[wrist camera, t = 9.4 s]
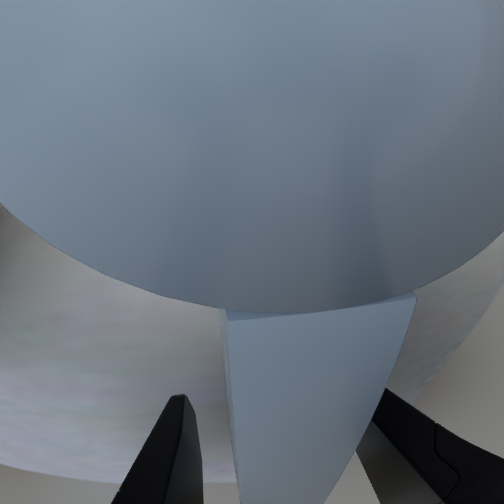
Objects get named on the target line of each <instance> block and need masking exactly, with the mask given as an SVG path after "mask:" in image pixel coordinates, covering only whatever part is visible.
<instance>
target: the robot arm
mask: <svg viewBox="0 0 504 504" xmlns="http://www.w3.org/2000/svg"><path fill="white" fill-rule="evenodd" d="M356 453H357V455H358V457H359V459H360V461H361V463H362V465H363V467H364V470H365V471H366V474H367V476H368V478H369V480H370V482H371V484H372V487H373V489H374V491H375V493H376V495H377V497H378V499H379V501H380V504H504V459H503V458H501V457H499V456H497V455H495V454H492V453H490V452H488V451H486V450H484V449H482V448H480V447H477V446H475V445H473V444H471V443H469V442H467V441H466V440H464V439H462V438H460V437H458V436H457V435H455V434H453V433H452V432H450V431H449V430H447V429H445V428H444V427H442V426H441V425H440V424H438V423H436V424H435V421H433V420H432V419H430V418H429V417H427V416H426V415H425V414H423V413H422V412H420V411H419V410H417V409H416V408H414V407H413V406H411V405H410V404H409V403H407V402H406V401H404V400H403V399H401V398H400V397H398V396H397V395H396V394H394V393H393V392H391V391H390V390H388V389H387V388H386V387H385V390H384V392H383V394H382V397H381V399H380V401H379V403H378V406H377V408H376V410H375V412H374V414H373V416H372V418H371V420H370V422H369V425H368V427H367V429H366V431H365V433H364V435H363V436H362V438H361V440H360V442H359V444H358V446H357V448H356ZM111 504H204V503H203V471H202V457H201V450H200V443H199V437H198V429H197V422H196V415H195V412H194V409H193V407H192V405H191V403H190V401H189V399H188V397H187V396H186V395H185V394H180V395H173V396H171V397H170V399H169V401H168V403H167V404H166V406H165V408H164V410H163V411H162V413H161V415H160V417H159V419H158V420H157V422H156V424H155V426H154V428H153V429H152V431H151V433H150V435H149V437H148V438H147V440H146V442H145V444H144V445H143V447H142V449H141V451H140V453H139V454H138V456H137V458H136V460H135V462H134V463H133V465H132V467H131V469H130V471H129V472H128V474H127V476H126V478H125V479H124V481H123V483H122V485H121V487H120V488H119V491H118V492H117V494H116V496H115V497H114V499H113V501H112V503H111Z"/></svg>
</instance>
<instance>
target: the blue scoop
mask: <svg viewBox="0 0 504 504" xmlns="http://www.w3.org/2000/svg"><path fill="white" fill-rule="evenodd" d="M0 203H1V204H2V205H3V206H4V207H5V208H6V209H7V210H8V211H9V212H10V213H11V214H12V215H13V216H15V217H16V218H17V219H18V220H20V221H21V222H22V223H23V224H24V225H26V226H27V227H28V228H30V229H31V230H32V231H33V232H35V233H36V234H37V235H38V236H40V237H41V238H42V239H44V240H45V241H46V242H48V243H49V244H50V245H52V246H53V247H55V248H57V249H58V250H60V251H62V252H64V253H66V254H67V255H69V256H71V257H73V258H74V259H76V260H78V261H80V262H82V263H83V264H85V265H87V266H89V267H91V268H93V269H95V270H96V271H98V272H100V273H102V274H104V275H107V276H109V277H112V278H114V279H117V280H120V281H122V282H125V283H128V284H130V285H133V286H136V287H138V288H141V289H144V290H147V291H149V292H152V293H155V294H158V295H161V296H164V297H169V298H173V299H178V300H182V301H187V302H191V303H196V304H200V305H205V306H210V307H215V308H220V321H221V334H222V347H223V359H224V371H225V382H226V393H227V404H228V414H229V424H230V434H231V443H232V451H233V458H234V465H235V472H236V479H237V485H238V492H239V498H240V504H323V503H324V502H325V500H326V499H327V497H328V496H329V494H330V493H331V491H332V489H333V488H334V486H335V484H336V483H337V481H338V480H339V478H340V476H341V475H342V473H343V471H344V470H345V468H346V466H347V464H348V462H349V461H350V459H351V457H352V455H353V454H354V452H355V450H356V448H357V446H358V444H359V442H360V440H361V438H362V436H363V435H364V433H365V431H366V429H367V427H368V425H369V422H370V420H371V418H372V416H373V414H374V412H375V410H376V408H377V406H378V403H379V401H380V399H381V397H382V394H383V392H384V390H385V387H386V385H387V383H388V380H389V378H390V375H391V373H392V370H393V368H394V365H395V363H396V360H397V358H398V355H399V352H400V350H401V347H402V344H403V341H404V338H405V336H406V333H407V330H408V327H409V324H410V321H411V318H412V314H413V311H414V308H415V305H416V301H417V298H418V297H417V296H416V295H415V294H414V293H413V292H412V291H411V290H414V289H417V288H420V287H422V286H425V285H427V284H429V283H430V282H432V281H434V280H436V279H438V278H440V277H442V276H444V275H446V274H448V273H450V272H451V271H453V270H455V269H457V268H459V267H460V266H461V265H463V264H464V263H466V262H467V261H469V260H470V259H471V258H473V257H474V256H475V255H477V254H478V253H479V252H481V251H482V250H483V249H485V248H486V247H487V246H488V245H490V244H491V243H492V242H493V241H494V240H495V239H496V238H497V237H498V236H499V235H500V234H501V233H502V232H503V231H504V0H0Z"/></svg>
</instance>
